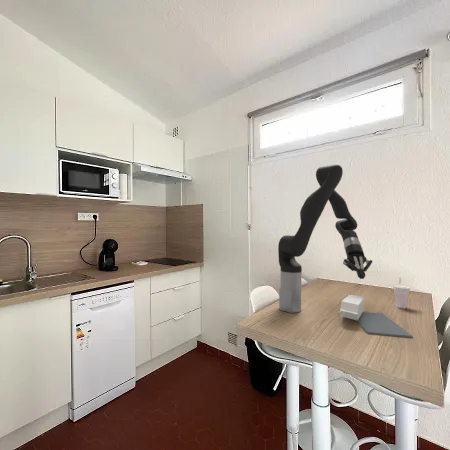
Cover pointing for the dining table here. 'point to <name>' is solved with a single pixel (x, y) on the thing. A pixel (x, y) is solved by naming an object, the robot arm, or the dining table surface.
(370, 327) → the mat
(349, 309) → the milk
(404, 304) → the smoothie
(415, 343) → the dining table surface
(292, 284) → the robot arm
